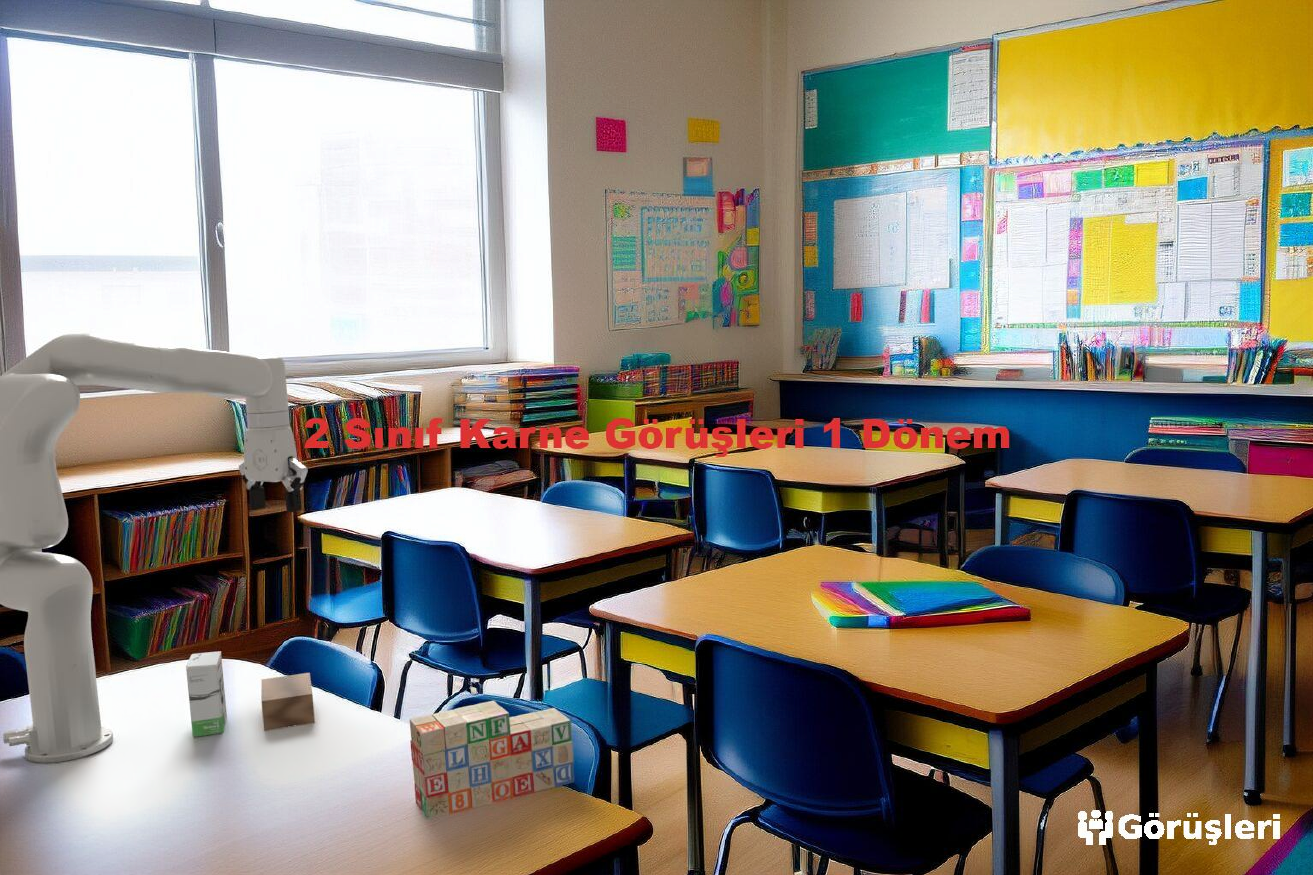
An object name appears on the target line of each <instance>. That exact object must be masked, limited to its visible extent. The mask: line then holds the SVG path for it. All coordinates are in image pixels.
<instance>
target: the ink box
mask: <svg viewBox="0 0 1313 875" xmlns="http://www.w3.org/2000/svg"><path fill="white" fill-rule="evenodd" d="M185 671H186V678H187V680H186V681H187V690H188V691H187V692H188V700H189V702H188V703H189V711H190V713H189V714H190V722H191V731H192V732H191V733H192V738H195V737H196V738H197V737H202V736H209V735H210V736H211V735H217V734H223V733H224V731H225V727H226V722H227V718H228V713H227V712H228V711H227V703H226V702H227V701H226V692H225V682H224V680H225V679H224V670H223V659H222V651H210V652H209V651H208V652H197V653H192V654H191V655H190V657H189V658H188V661H187V663H186V665H185Z"/></svg>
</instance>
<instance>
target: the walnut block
mask: <svg viewBox="0 0 1313 875" xmlns="http://www.w3.org/2000/svg"><path fill="white" fill-rule="evenodd" d="M312 689H313V688H312V680H311V673H310V672H304V673H298V674H292V675H290V674H289V675H283V676H276V677H269V678H262V679H261V694H260V695H261V710H262V712H261V713H262V723H263V731H264V732H265V731H271V730H278V729H284V728H289V727H288V726H291V727H295V726H294V725H297V726H303V725H308V724H310V725H311V724H315V722H316V720H315V711H314V710H315V709H314V697H313V690H312ZM283 727H284V728H283ZM277 728H278V729H277Z"/></svg>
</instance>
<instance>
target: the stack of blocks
mask: <svg viewBox="0 0 1313 875" xmlns="http://www.w3.org/2000/svg"><path fill="white" fill-rule="evenodd" d="M571 721H572V720H570V718H568V717H567V716H566V715H564V714H563V713H561V712H560V711H559V710H558V709H557V708H555V707H552V708H547V709H543V710H538V711H534V712H529V713H524V714H519V715H516V716H510V713H509V711H507V710H506V709H505V708H503V707H502V706H500V705H499V704H498V703H497V702H496V701H495V700H490V701H485V702H479V703H477V704H473V705H472V704H471V705H467V706H466V705H465V706H462V707H457V708H454V709H450V710H445V711H440V712H436V713H432V714H426V715H421V716H416V717H412V718H410V719H409V728H410V738H411V740H410V741H409V742H410V752H411V753H410V755H411V761H412V762H411V763H412V772H413V780H414V796H415V803H416V804H417V806H418V807H419V808H420V811H422V812H423V814H424V815H425V817H426V818H427V820H430V819H434V818H437V817H442V816H447V815H451V814H455V813H459V812H464V811H468V810H472V809H475V808H476V809H477V808H480V807H484V806H488V805H492V804H494V803H498V802H502V801H506V800H510V799H513V798H517V797H520V796H521V797H522V796H525V795H528V794H529V795H530V794H532V793H537V792H541V791H544V790H545V791H546V790H549V789H552V788H556V787H561V786H566V785H569V784H573V783H575V771H574V770H575V768H574V747H573V737H572V736H573V734H572V723H571Z"/></svg>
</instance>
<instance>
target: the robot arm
mask: <svg viewBox="0 0 1313 875" xmlns="http://www.w3.org/2000/svg"><path fill="white" fill-rule="evenodd" d="M77 385H81V386H83V385H90V386H91V385H92V386H103V387H109V388H110V387H111V388H118V389H120V388H121V389H127V390H135V391H136V390H137V391H145V392H153V393H163V394H164V393H165V394H191V393H192V394H193V393H198V394H199V393H200V394H204V393H205V394H207V395H208V396H210V397H213V398H217V399H245V408H246V409H245V410H246V422H247V428H246V429H245V431H244V432H245V433H244V439H243V440H244V441H243V445H244V446H243V462H242V463H240V465H238V470H239V472H240V474H241V479H242V480H243V482H244V484H245V487H246V488H245V489H247V490H248V494H249V505H250V510H251V511H256V510H261V509H265V508H266V494H265V487H264V486H263V484H264V482H266V483H267V482H268V483H278V482H282V484H283V486H284V487H285V489H286V490H287V491H285V492H284V495H285V496H284V497H285V498H284V499H285V509H286V512H287V513H290V514H291V513H295V512H300V511H301V510H302V508H303V507H302V496H301V490H303V488H304V487H303V486H304V484H305V482H306V477H307V474H308V467H307V466H305V465H304V464H303V463H301V462H300V461H298V456H297V455H298V454H297V448H296V442H295V437H294V434H293V431H292V427H291V425H290V424H291V422H290V413H289V410H290V409H289V400H288V387H287V377H286V365H285V361H284V359H283V358H282V357H281V356H279V355H259V356H253V355H248V354H242V353H236V352H229V351H228V352H227V351H221V350H214V349H204V348H197V347H192V346H186V345H180V344H171V343H170V344H169V343H166V342H164V343H163V342H156V341H151V340H144V339H137V338H132V337H127V336H119V335H113V334H107V333H100V332H99V333H98V332H97V333H96V332H90V333H88V332H85V333H67V334H62V335H59V336H57V337H55V338H53V339H51V340H50V341H48V342H47V343H45V344H44V345H42V346H41V347H40V348H37V349H36V350H35V351H34V352H32V353H31V354H29V355H28V356H26V357H25V358H24V359H22V360H21V361H20V362H18V363H17V364H15V365H14V366H12V367H11V368H9V370H7V371H5V372H4V373H3V374H2V375H0V605H2V606H3V607H5V608H8V609H13V610H17V611H20V612H21V611H22V612H27V615H28V616H27V622H26V626H25V631H24V636H23V637H24V638H23V648H24V658H25V664H26V665H25V666H26V673H27V674H26V675H27V684H28V691H29V692H28V693H29V702H30V708H31V709H30V710H31V711H30V712H31V718H32V719H31V721H32V724H31V725H28V726H25V728H23V729H11V730H6V731H5V730H4V731H3V733H2V738H3V740H2V741H3V743H4V744H8V746H9V747H14V746H20V745H24V744H25V745H26V746H25V748H24V757H25V759H26V760H28V761H31V762H34V763H45V764H46V763H59V762H60V763H61V762H66V761H71V760H76V759H80V758H84V757H87V756H90V755H92V754H95V753H97V752H100V751H101V750H104V749H105V748H106V747H108V746H110V744H111V743H113V740H114V733H113V731H112V730H111V729H109V728H107V727H103V726H102V723H101V721H102V720H101V713H100V705H99V704H100V703H99V694H98V684H97V677H96V676H97V674H96V673H97V672H96V663H95V656H94V655H95V654H94V648H93V647H94V646H93V640H92V639H93V637H92V621H91V619H92V618H91V617H92V614H91V611H92V603H93V602H92V601H93V593H94V592H93V591H94V585H93V584H94V583H93V578H92V575H91V573H90V571H89V570H88V569H87V567H86V565H84V564H83V563H82V562H81V561H79V560H78V559H76V558H74V557H72V556H68V555H65V554H58V553H52V552H43V550H44V549H48V548H51V547H54V546H56V545H58V544H60V542H62V540H64V538H65V537H66V535H67V533H68V528H69V517H68V512H67V508H66V503H65V499H64V496H63V490H62V486H61V483H60V482H61V481H60V478H59V474H58V470H57V463H56V454H55V453H56V447H57V444H58V440H59V438H60V436H61V434H62V433H63V431H64V430H65V428H66V427H67V426H68V425H69V424H70V423H71V421H72V420H73V419H74V418H75V416H76V415H77V414H78V411H79V408H80V405H81V393H80V391H79V388H78V386H77ZM42 549H43V550H42Z"/></svg>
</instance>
